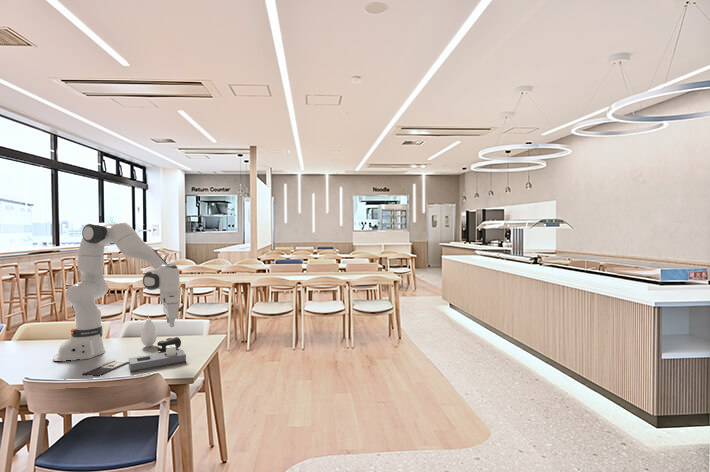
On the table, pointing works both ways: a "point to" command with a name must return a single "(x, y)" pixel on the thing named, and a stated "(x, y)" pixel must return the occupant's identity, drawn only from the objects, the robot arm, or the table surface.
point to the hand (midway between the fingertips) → (170, 324)
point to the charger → (170, 350)
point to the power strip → (156, 361)
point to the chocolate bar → (106, 368)
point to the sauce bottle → (148, 333)
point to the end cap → (170, 341)
